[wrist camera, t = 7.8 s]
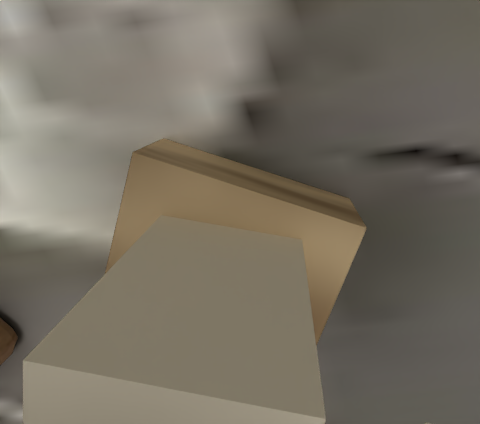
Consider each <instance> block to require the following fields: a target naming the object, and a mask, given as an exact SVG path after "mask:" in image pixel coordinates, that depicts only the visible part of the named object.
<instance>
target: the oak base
mask: <svg viewBox="0 0 480 424" xmlns="http://www.w3.org/2000/svg"><path fill="white" fill-rule="evenodd" d="M161 215H164V216H170V217H175V218H181V219H187V220H193V221H198V222H204V223H210V224H216V225H221V226H227V227H233V228H239V229H244V230H250V231H256V232H261V233H267V234H273V235H279V236H284V237H290V238H296V239H302V243H303V250H304V258H305V265H306V273H307V280H308V288H309V295H310V303H311V310H312V318H313V325H314V333H315V340H316V345H317V343H318V341H319V338H320V336H321V334H322V331H323V329H324V327H325V324H326V322H327V320H328V317H329V315H330V313H331V310H332V308H333V306H334V303H335V301H336V299H337V296H338V294H339V292H340V289H341V287H342V285H343V282H344V280H345V278H346V275H347V273H348V271H349V268H350V266H351V264H352V261H353V259H354V257H355V254H356V252H357V250H358V247H359V245H360V243H361V240H362V238H363V236H364V233H365V231H366V229H367V228H366V226H365V224H364V223H363V221H362V219H361V217H360V216H359V214H358V212H357V211H356V209H355V207H354V206H353V204H352V202H351V200H350V199H349V198H346V197H343V196H340V195H337V194H334V193H331V192H328V191H324V190H321V189H318V188H315V187H312V186H309V185H306V184H303V183H300V182H297V181H294V180H291V179H287V178H284V177H281V176H278V175H275V174H272V173H269V172H266V171H263V170H260V169H257V168H254V167H250V166H247V165H244V164H241V163H238V162H235V161H232V160H229V159H226V158H223V157H220V156H217V155H213V154H210V153H207V152H204V151H201V150H198V149H195V148H192V147H189V146H186V145H183V144H180V143H176V142H173V141H170V140H167V139H164V138H163V139H161V140H159V141H156V142H154V143H152V144H150V145H148V146H145V147H143V148H141V149H139V150H136V151H134V152H133V153H132V157H131V162H130V166H129V170H128V175H127V179H126V183H125V188H124V192H123V197H122V201H121V205H120V210H119V214H118V218H117V223H116V227H115V232H114V236H113V240H112V245H111V249H110V253H109V258H108V262H107V267H106V271H105V274H106V273H107V272H108V271H109V269H110V268H111V267H112V266H113V265H114V264H115V263H116V262H117V261H118V260H119V259H120V258H121V257H122V256H123V255H124V254H125V253H126V252H127V251H128V249H129V248H130V247H131V246H132V245H133V244H134V243H135V242H136V241H137V240H138V239H139V238H140V237H141V236H142V235H143V234H144V233H145V232H146V231H147V230H148V228H149V227H150V226H151V225H152V224H153V223H154V222H155V221H156V220H157V219H158V218H159V217H160V216H161Z"/></svg>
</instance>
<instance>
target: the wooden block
mask: <svg viewBox="0 0 480 424" xmlns="http://www.w3.org/2000/svg"><path fill="white" fill-rule="evenodd" d="M17 339H18V337H17V335H16V333H15V331H14V330H13V328H11V327H10V326H9V325H8V324H7V323H6V322H4V321H3V320H2V319H1V318H0V365H1V364H2V363H3V362H4V361H5V360H6V359H7V358H8V357H9V356H10V355H11V354H12V353H13V349H14V346H15V343H16V341H17Z"/></svg>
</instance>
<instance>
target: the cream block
mask: <svg viewBox="0 0 480 424" xmlns="http://www.w3.org/2000/svg"><path fill="white" fill-rule="evenodd" d="M325 421H326V416H325V408H324V401H323V393H322V385H321V378H320V370H319V363H318V355H317V348H316V340H315V333H314V325H313V318H312V310H311V303H310V295H309V288H308V280H307V273H306V265H305V258H304V250H303V243H302V239H296V238H290V237H284V236H279V235H273V234H267V233H261V232H256V231H250V230H244V229H239V228H233V227H227V226H221V225H216V224H210V223H204V222H198V221H193V220H187V219H181V218H175V217H170V216H164V215H161V216H160V217H159V218H158V219H157V220H156V221H155V222H154V223H153V224H152V225H151V226H150V227H149V228H148V230H147V231H146V232H145V233H144V234H143V235H142V236H141V237H140V238H139V239H138V240H137V241H136V242H135V243H134V244H133V245H132V246H131V247H130V248H129V249H128V251H127V252H126V253H125V254H124V255H123V256H122V257H121V258H120V259H119V260H118V261H117V262H116V263H115V264H114V265H113V266H112V267H111V268H110V269H109V271H108V272H107V273H106V274H105V275H104V276H103V277H102V278H101V279H100V280H99V281H98V282H97V283H96V284H95V285H94V286H93V287H92V288H91V289H90V290H89V292H88V293H87V294H86V295H85V296H84V297H83V298H82V299H81V300H80V301H79V302H78V303H77V304H76V305H75V306H74V307H73V308H72V309H71V310H70V312H69V313H68V314H67V315H66V316H65V317H64V318H63V319H62V320H61V321H60V322H59V323H58V324H57V325H56V326H55V327H54V328H53V329H52V330H51V331H50V333H49V334H48V335H47V336H46V337H45V338H44V339H43V340H42V341H41V342H40V343H39V344H38V345H37V346H36V347H35V348H34V349H33V350H32V351H31V353H30V354H29V355H28V356H27V357H26V358H25V359H24V360H23V424H325Z"/></svg>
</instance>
